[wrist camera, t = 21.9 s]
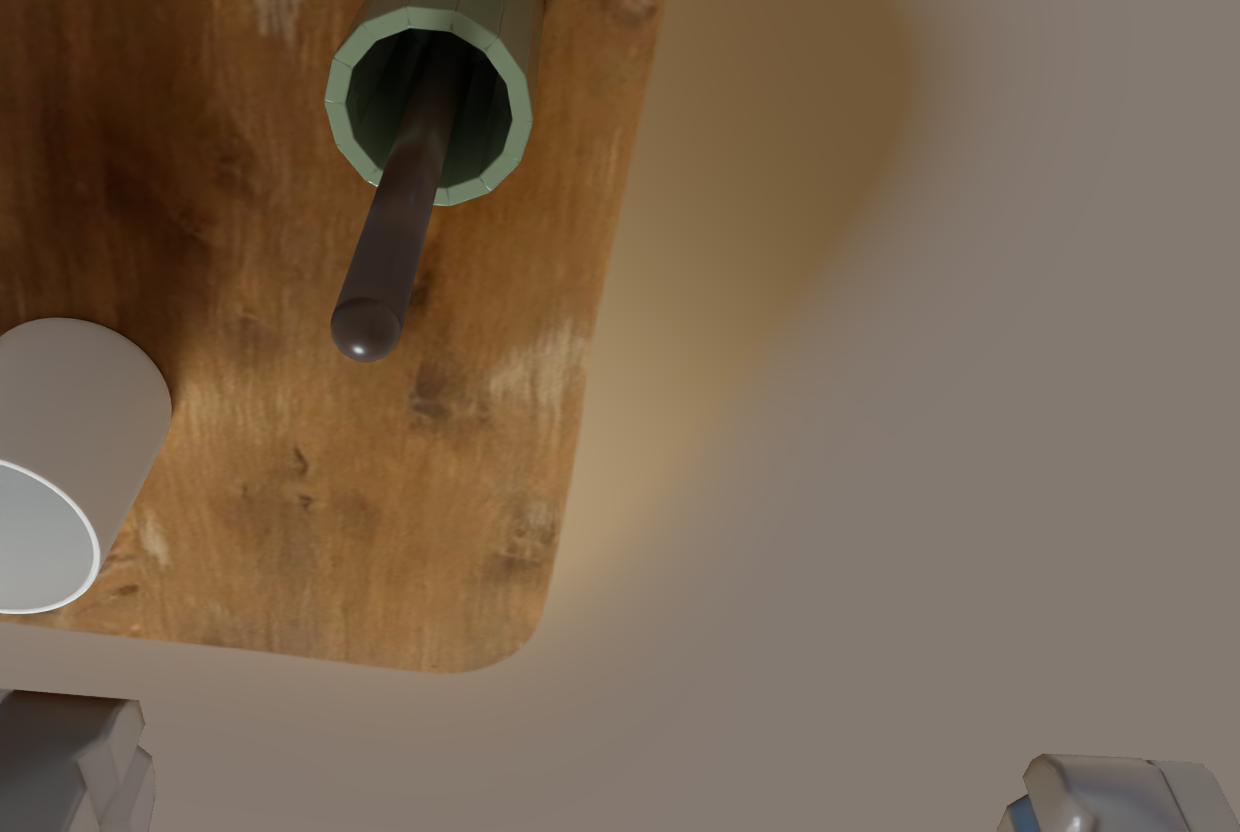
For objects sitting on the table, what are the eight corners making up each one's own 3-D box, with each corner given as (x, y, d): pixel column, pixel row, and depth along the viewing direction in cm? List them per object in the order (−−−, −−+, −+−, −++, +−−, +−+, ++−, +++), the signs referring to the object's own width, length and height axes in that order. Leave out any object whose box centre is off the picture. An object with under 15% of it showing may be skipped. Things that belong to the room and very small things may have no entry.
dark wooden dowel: (445, -33, 41) (321, 289, 22) (484, -29, 41) (396, 295, 22) (443, 34, 42) (327, 392, 23) (481, 37, 42) (396, 397, 23)
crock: (383, -99, 40) (319, -4, 30) (550, -80, 41) (540, 19, 31) (385, 63, 43) (327, 195, 34) (539, 79, 44) (526, 213, 34)
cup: (95, 488, 55) (9, 643, 47) (-127, 316, 49) (-270, 459, 41) (214, 405, 52) (145, 554, 44) (-6, 213, 47) (-132, 343, 38)
